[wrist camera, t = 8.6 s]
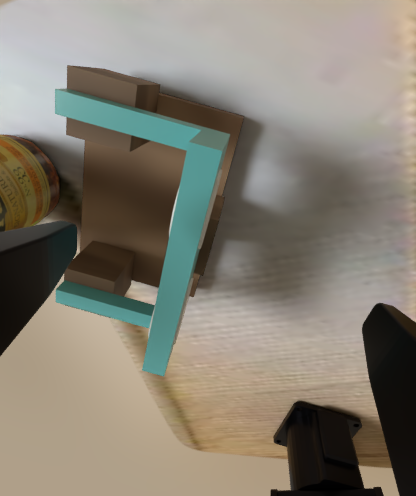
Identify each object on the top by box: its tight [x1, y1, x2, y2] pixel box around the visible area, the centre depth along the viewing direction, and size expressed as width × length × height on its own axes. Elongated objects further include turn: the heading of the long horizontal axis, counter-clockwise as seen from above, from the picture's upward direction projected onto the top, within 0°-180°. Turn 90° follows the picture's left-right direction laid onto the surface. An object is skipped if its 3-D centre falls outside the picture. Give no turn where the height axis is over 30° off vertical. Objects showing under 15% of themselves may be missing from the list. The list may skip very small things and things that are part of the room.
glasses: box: [55, 89, 230, 376], centre depth 15 cm, size 12×8×4 cm, turn 166°
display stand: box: [64, 65, 244, 318], centre depth 19 cm, size 14×9×5 cm, turn 166°
